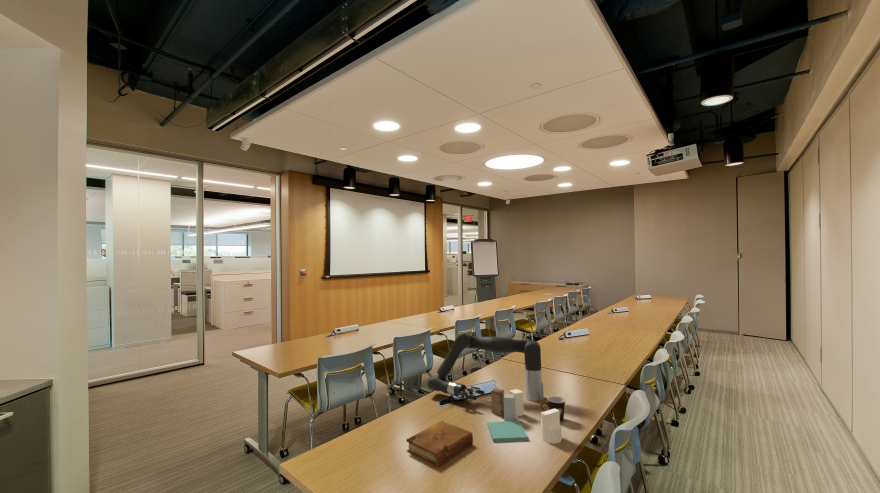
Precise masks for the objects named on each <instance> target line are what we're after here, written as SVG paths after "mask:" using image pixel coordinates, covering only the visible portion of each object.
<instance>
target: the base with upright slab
mask: <svg viewBox="0 0 880 493" xmlns="http://www.w3.org/2000/svg"><path fill="white" fill-rule="evenodd" d="M540 419H541V421H540V438H541V440H542V441H544V442H545V443H548V444H560V443H561V442H562V441H563V439H562V425H561V422H560V414H559V410H557V409H555V408H554V409H551V410H549V409H548V410H545V411H544V410H543V411H542V412H540ZM561 440H562V441H561Z"/></svg>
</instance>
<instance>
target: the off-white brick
mask: <svg viewBox="0 0 880 493" xmlns="http://www.w3.org/2000/svg"><path fill="white" fill-rule="evenodd" d="M509 394H512V395H515V418H518V417H522V416H524V414H525V412H524V409H525V407H524V392H523V391H522V390H520V389H518V388H514V389H511V390H509Z"/></svg>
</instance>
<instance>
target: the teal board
mask: <svg viewBox="0 0 880 493" xmlns="http://www.w3.org/2000/svg"><path fill="white" fill-rule="evenodd" d="M486 424H487V429H488V431H489V434H490V437H491V441H492V442H493V443H496V442H497V443H500V442H501V441H502V442H520V441H521V442H523V441H529V438H528V434H527V433H526V431H525V429H524V427H523V425H522V423H521V422H520V421H519V420H515V421H489V422H487V423H486Z"/></svg>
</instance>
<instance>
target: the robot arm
mask: <svg viewBox="0 0 880 493" xmlns="http://www.w3.org/2000/svg"><path fill="white" fill-rule="evenodd" d="M465 349H477V350H481V351H486V352H491V353H496V354H508V353H522V354H524V367H525V370H524V372H525V373H524V374H525V390H526V392H525V396H526V400H528V401H531V402H540V401H543V400H545V399H544V398H545V397H544V395H545V394H544V382H543V378H542V376H543V375H542V352H541V345H540V343H539V342H538V341H536V340H534V339H533V340H532V339H530V340H529V339H527V340H526V339H522V340H521V339H513V338H509V337H508V338H507V337H499V336H477V335H476V336H475V335H471V334H468V333H463V332H462V333H459V334H457V335H456V337H455V339H454V341H453V344H452V346H451V349H450V350H449V352H448V353H447V355H446V357H445V358H444V359H443V361H442V363H440V366H439V368H438V369H437V371H436V373H437V377H430V378H429V379H427V382H426V383H427V387H428V389H430V390H431V391H432V390H433V391H436V392H441V393H444V394H446V395H447V394H448V395H450V396H453V397H457V398H458V399H462V400H464V401H468V400H474V401H477V396H476V395H480V396H485V395H486V394H485V390H482V389H481V388H480V387H477V386H473V385H472V386H470V387H467V386H466V385H465V384H464V383H459V382H455V381H450V380H447V378H448V376H449V374H450V373H451V372H452V369H453V368H454V366H455V364H456V362H457V359H458V358H459V356H460V355H461V353H462V352H464V350H465Z"/></svg>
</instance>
